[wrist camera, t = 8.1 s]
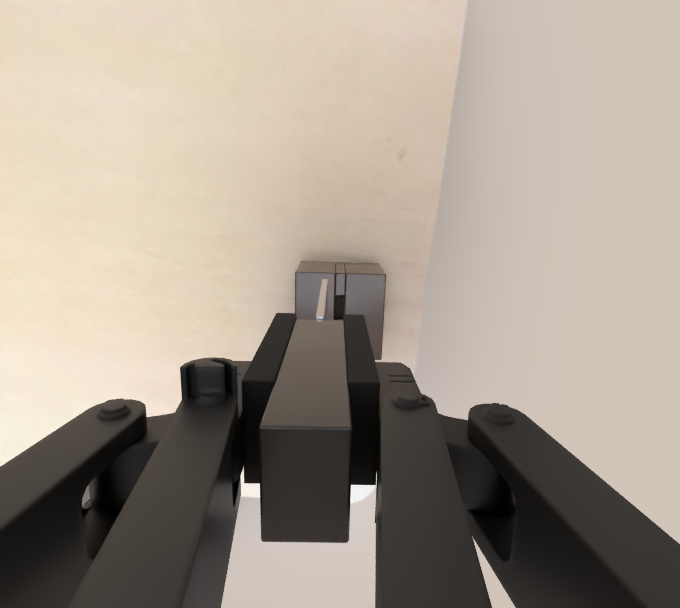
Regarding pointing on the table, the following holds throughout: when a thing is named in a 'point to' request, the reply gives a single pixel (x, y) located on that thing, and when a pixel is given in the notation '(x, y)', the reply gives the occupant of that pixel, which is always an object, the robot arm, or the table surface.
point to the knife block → (344, 294)
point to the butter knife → (308, 437)
